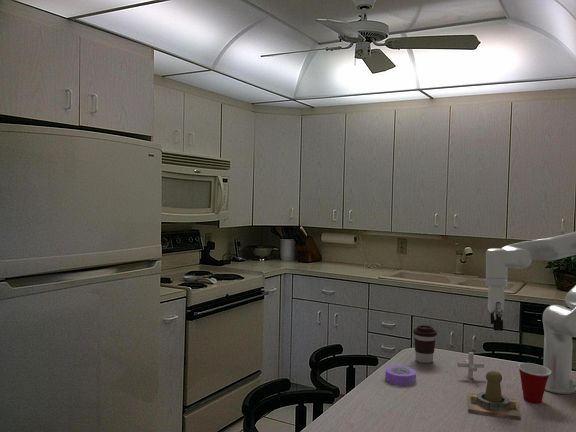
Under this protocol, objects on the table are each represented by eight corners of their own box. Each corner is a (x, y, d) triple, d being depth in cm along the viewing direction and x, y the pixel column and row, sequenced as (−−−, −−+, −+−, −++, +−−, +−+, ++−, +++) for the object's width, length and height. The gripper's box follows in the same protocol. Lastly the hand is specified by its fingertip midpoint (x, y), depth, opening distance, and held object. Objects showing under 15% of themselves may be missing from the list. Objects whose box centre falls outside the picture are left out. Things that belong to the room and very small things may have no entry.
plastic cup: (536, 409, 177) (537, 374, 176) (509, 397, 186) (511, 365, 186) (557, 403, 182) (558, 370, 181) (530, 393, 191) (531, 361, 191)
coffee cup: (413, 363, 223) (414, 329, 222) (411, 356, 233) (412, 323, 232) (437, 365, 221) (438, 330, 221) (434, 358, 231) (435, 324, 231)
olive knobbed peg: (483, 399, 182) (484, 368, 182) (501, 401, 180) (503, 370, 180) (483, 405, 176) (485, 373, 176) (503, 408, 174) (504, 376, 174)
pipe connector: (487, 382, 202) (488, 357, 201) (461, 381, 202) (462, 356, 202) (478, 373, 212) (479, 349, 211) (454, 372, 212) (454, 348, 212)
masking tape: (410, 387, 195) (411, 377, 195) (381, 381, 201) (381, 372, 201) (419, 378, 205) (419, 369, 205) (391, 373, 211) (391, 363, 211)
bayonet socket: (515, 401, 183) (516, 393, 183) (520, 419, 168) (520, 410, 168) (467, 395, 188) (468, 386, 188) (468, 412, 173) (468, 403, 173)
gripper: (483, 277, 202) (483, 321, 203) (488, 285, 185) (488, 332, 186) (504, 278, 200) (504, 322, 201) (510, 286, 183) (510, 333, 184)
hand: (496, 327), depth 193 cm, fingers open, 9 cm apart
